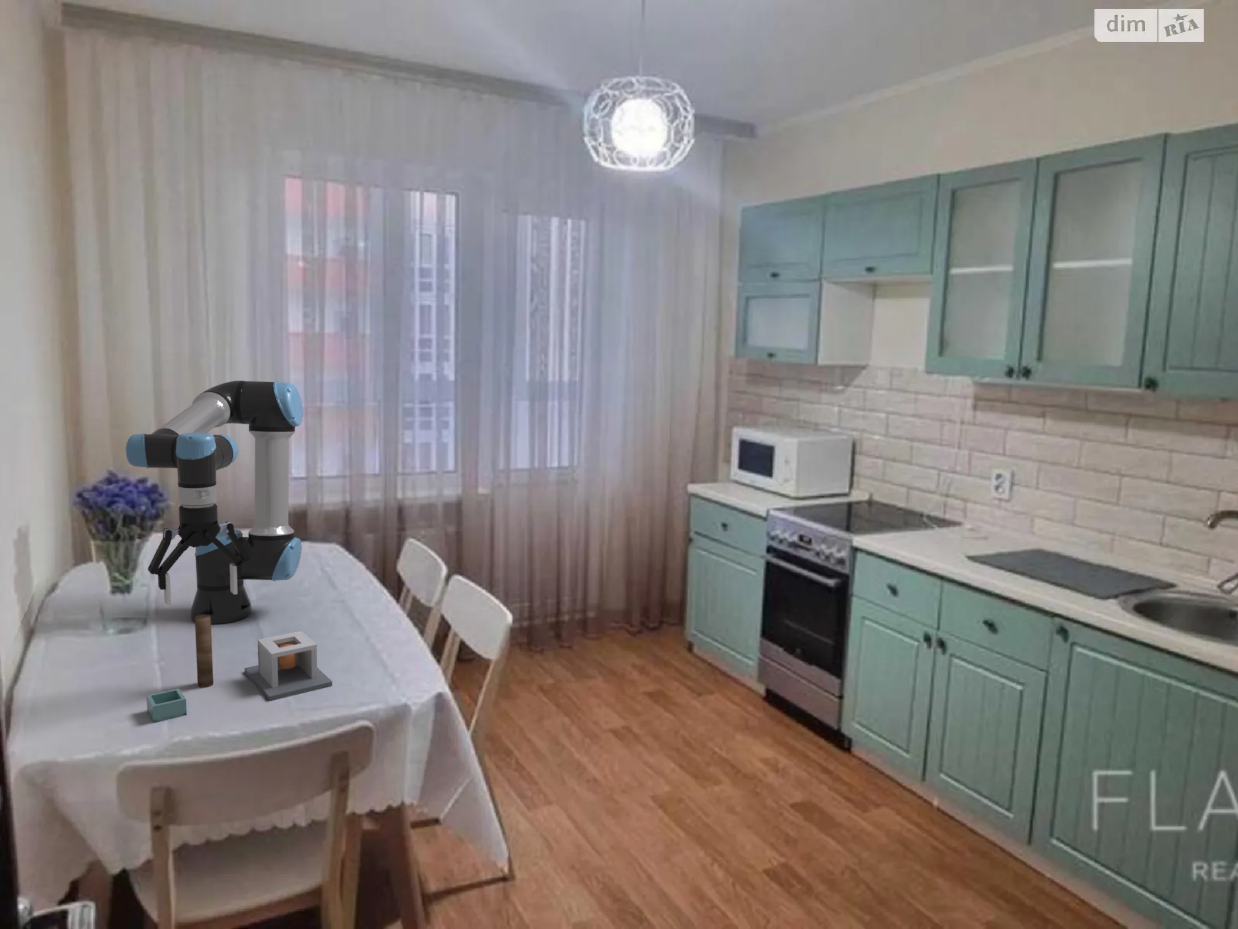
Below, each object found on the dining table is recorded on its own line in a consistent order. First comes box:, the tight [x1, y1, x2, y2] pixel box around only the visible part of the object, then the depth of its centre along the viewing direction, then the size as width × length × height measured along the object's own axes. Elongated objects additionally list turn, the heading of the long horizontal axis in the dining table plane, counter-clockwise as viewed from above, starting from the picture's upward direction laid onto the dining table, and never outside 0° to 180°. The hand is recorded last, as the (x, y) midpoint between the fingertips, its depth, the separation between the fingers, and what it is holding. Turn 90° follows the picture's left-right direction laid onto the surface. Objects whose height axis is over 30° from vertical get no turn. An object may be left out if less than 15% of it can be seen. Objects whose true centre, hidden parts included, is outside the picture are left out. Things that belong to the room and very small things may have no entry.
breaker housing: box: [244, 630, 333, 702], centre depth 198 cm, size 18×14×9 cm
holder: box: [146, 687, 188, 723], centre depth 180 cm, size 6×6×4 cm
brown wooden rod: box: [194, 615, 214, 688], centre depth 192 cm, size 3×3×16 cm
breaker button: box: [279, 644, 296, 669], centre depth 197 cm, size 4×4×4 cm
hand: (201, 597), depth 190 cm, fingers open, 13 cm apart
